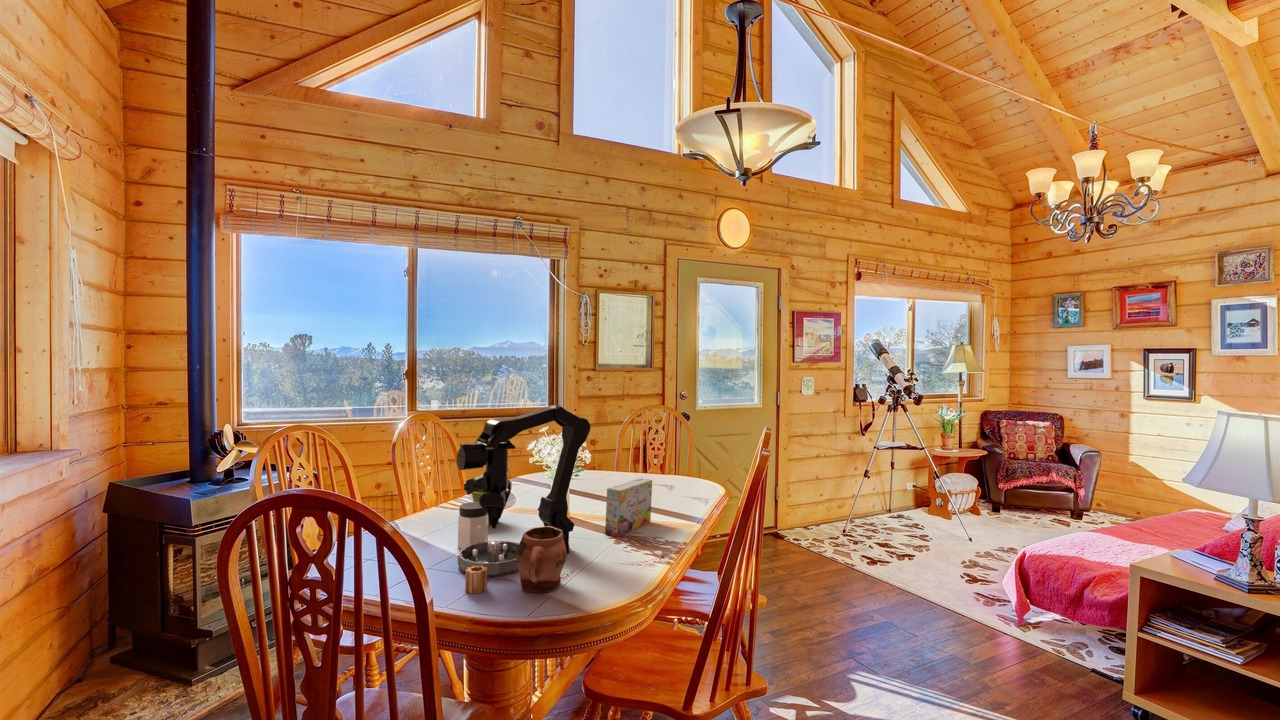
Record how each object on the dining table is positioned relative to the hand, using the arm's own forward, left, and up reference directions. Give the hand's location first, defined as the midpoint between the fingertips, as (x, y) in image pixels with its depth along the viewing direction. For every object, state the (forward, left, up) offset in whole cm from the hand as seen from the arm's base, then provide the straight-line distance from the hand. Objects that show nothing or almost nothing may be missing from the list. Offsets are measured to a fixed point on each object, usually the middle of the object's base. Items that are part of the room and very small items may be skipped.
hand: (495, 523), depth 161 cm
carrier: (0, +1, -11) cm, 11 cm away
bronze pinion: (+2, +18, -11) cm, 21 cm away
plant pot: (+7, -39, -11) cm, 41 cm away
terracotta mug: (-13, +18, -11) cm, 25 cm away
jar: (+8, -15, -11) cm, 21 cm away
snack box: (-40, -31, -11) cm, 52 cm away
